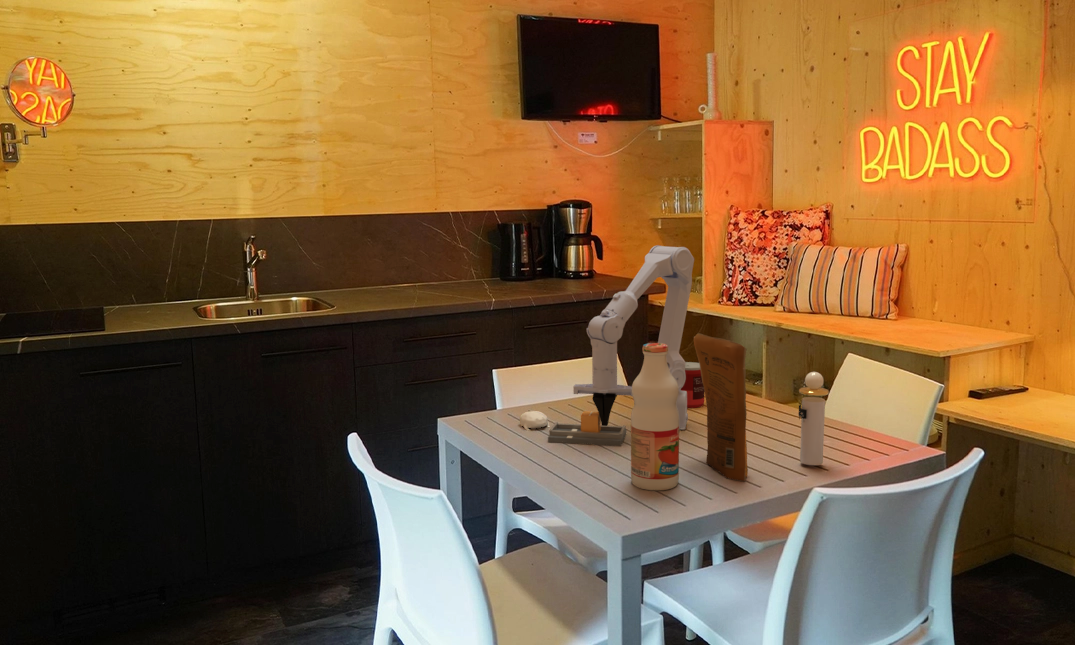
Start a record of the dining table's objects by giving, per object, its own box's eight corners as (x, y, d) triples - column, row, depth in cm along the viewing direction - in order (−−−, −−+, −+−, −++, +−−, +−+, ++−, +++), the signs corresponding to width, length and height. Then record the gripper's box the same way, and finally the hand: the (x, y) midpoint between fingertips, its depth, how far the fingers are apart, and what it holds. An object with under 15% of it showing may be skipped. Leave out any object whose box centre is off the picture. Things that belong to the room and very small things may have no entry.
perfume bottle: (821, 460, 179) (824, 368, 176) (829, 469, 173) (833, 374, 170) (793, 460, 179) (796, 369, 176) (801, 469, 174) (804, 375, 171)
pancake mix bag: (727, 486, 165) (730, 346, 161) (689, 456, 183) (690, 330, 179) (759, 483, 166) (762, 343, 162) (718, 454, 185) (720, 328, 180)
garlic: (554, 429, 207) (553, 414, 206) (529, 433, 204) (528, 418, 204) (539, 421, 214) (539, 407, 214) (515, 425, 211) (515, 410, 211)
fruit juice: (637, 473, 173) (637, 339, 169) (683, 478, 170) (684, 342, 166) (625, 488, 165) (625, 348, 160) (672, 494, 161) (674, 350, 157)
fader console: (626, 433, 201) (626, 423, 201) (620, 446, 192) (620, 435, 191) (557, 430, 205) (557, 420, 205) (548, 442, 196) (547, 432, 195)
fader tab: (600, 429, 200) (600, 411, 199) (597, 434, 196) (597, 415, 195) (584, 429, 201) (583, 410, 200) (581, 433, 197) (580, 415, 196)
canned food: (673, 400, 231) (674, 361, 230) (703, 401, 230) (704, 362, 229) (674, 408, 224) (674, 367, 222) (705, 408, 223) (705, 368, 221)
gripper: (570, 370, 193) (571, 427, 195) (633, 372, 189) (633, 430, 191) (576, 364, 199) (576, 419, 202) (637, 366, 196) (637, 422, 198)
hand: (604, 424), depth 197 cm, fingers closed
